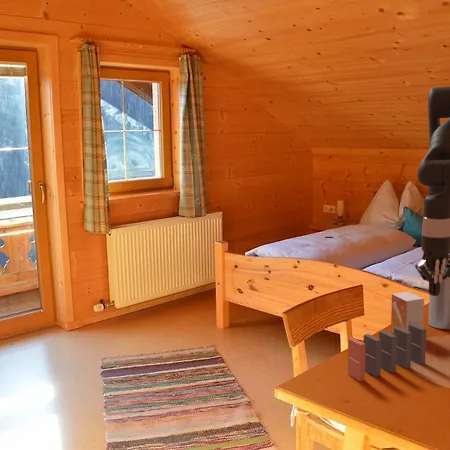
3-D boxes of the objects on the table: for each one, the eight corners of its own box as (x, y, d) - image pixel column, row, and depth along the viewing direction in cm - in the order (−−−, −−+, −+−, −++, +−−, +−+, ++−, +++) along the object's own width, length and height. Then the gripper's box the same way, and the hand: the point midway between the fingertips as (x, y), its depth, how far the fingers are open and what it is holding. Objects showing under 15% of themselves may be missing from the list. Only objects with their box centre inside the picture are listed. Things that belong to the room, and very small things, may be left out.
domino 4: (397, 360, 160) (398, 326, 159) (410, 367, 156) (411, 332, 154) (393, 362, 160) (393, 327, 158) (406, 368, 155) (406, 333, 153)
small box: (390, 333, 181) (391, 293, 179) (407, 330, 183) (408, 291, 180) (405, 342, 173) (406, 300, 171) (423, 339, 175) (424, 298, 173)
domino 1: (352, 373, 154) (353, 337, 152) (364, 380, 149) (365, 343, 147) (347, 374, 153) (348, 338, 151) (359, 381, 148) (360, 345, 147)
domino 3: (383, 364, 158) (383, 330, 156) (395, 371, 154) (396, 336, 152) (378, 366, 157) (379, 331, 156) (391, 372, 153) (391, 337, 151)
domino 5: (412, 357, 162) (412, 323, 161) (425, 363, 158) (426, 328, 156) (407, 358, 162) (408, 324, 160) (420, 364, 157) (421, 330, 156)
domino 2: (368, 368, 156) (368, 333, 154) (380, 375, 151) (381, 339, 150) (363, 370, 155) (363, 334, 153) (375, 377, 151) (376, 340, 149)
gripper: (428, 238, 150) (426, 302, 153) (465, 233, 156) (462, 295, 159) (407, 234, 157) (406, 295, 160) (443, 229, 162) (441, 288, 165)
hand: (434, 295), depth 159 cm, fingers closed
